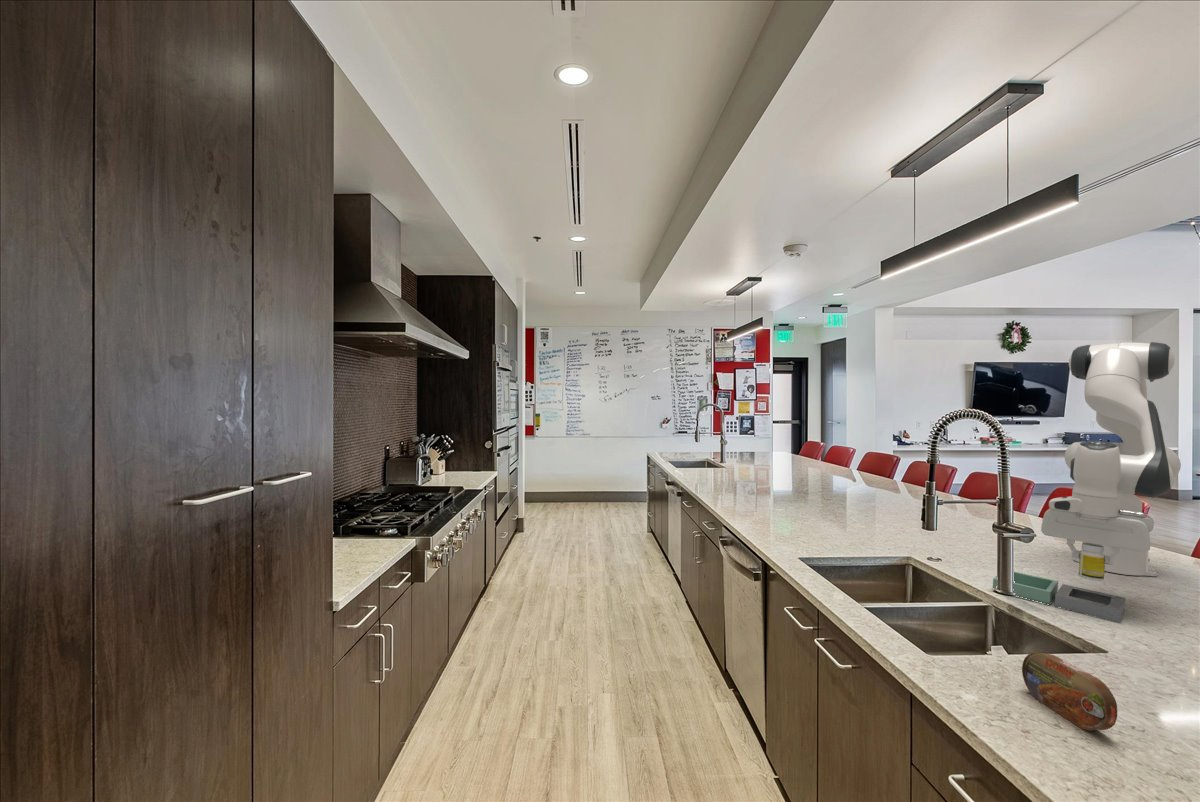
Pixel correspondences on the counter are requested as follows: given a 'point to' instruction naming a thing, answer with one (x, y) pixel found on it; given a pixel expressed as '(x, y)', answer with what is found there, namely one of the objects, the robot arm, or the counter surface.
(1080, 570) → the supplement bottle
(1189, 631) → the counter surface
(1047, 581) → the tray
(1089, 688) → the tin
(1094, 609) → the grey slotted block
